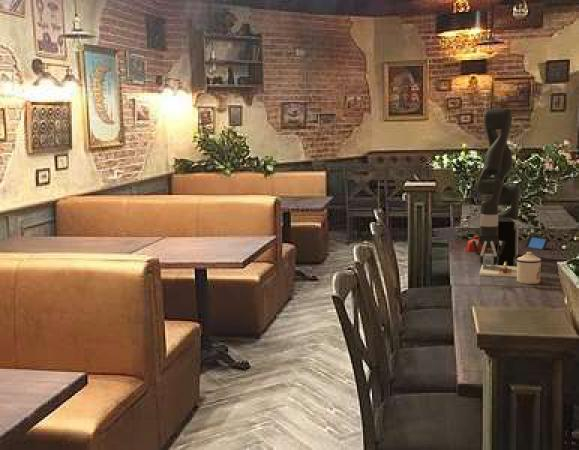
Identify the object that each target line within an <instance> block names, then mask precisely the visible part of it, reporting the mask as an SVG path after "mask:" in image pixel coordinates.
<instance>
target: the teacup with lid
mask: <svg viewBox="0 0 579 450" xmlns="http://www.w3.org/2000/svg"><path fill="white" fill-rule="evenodd" d="M516 260H517V265H516V266H517V277H516V282H518V283H519V284H524V285H525V284H526V285H536V284H537V285H538V284H540V283H541V270H542V269H541V266H542V259H541V258H540V257H537V256H536V255H534V254H533V252H531V251H526V253H525V254H524V255H522V256H517V259H516Z"/></svg>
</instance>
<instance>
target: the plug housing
mask: <svg viewBox="0 0 579 450" xmlns="http://www.w3.org/2000/svg"><path fill="white" fill-rule="evenodd" d="M487 261H490V265H491V270H493V268H494V254H492V253H484V254H483V269H485V268H486V265H487Z"/></svg>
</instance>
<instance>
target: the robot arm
mask: <svg viewBox="0 0 579 450" xmlns="http://www.w3.org/2000/svg"><path fill="white" fill-rule="evenodd" d="M512 114H513V113H512V111H511V109H510V108H506V107H504V108H488V109H486V110H485V111H484V117H483V120H484V127H485V131H486V136H487V140H488V146H489V147H488V150H487V151H486V153H485V156H484V163H483V167H482V168H483V169H482V170H481V173H480V175H479V177H478V179H477V182H476V191H477V193H479V194H480V195H492V196H491V198H490V199H485V200H482V201H481V202H480V218H479V238H478V239H479V240H474V241H473V242H472V243H473V246H474V249H475V252H474V253H475V255H478V256H479V257H480V259H479V262H480V264H481V266H482V265H483V256H484V254H485V252H484V251H485V249H491V250H492V252H493V253H494V265H497V256H499V255H501V254H502V251H503V248H504V245H505V241H501V240H499V238H498V217H510V218H512V219H513V220H515V223H518V224H519V211H520V210H519V207H520V196H521V195H520V194H521V193H520V191H521V190H520V188H519V186H518V185H515V184H514V185H512V184H511V185H510V184H509V185H507V184H506V185H505V184H504V183H503V181H504V179H505V178H506V176H507V174H508V173H509V172H510V170H511V169H512V167H513V155H512V150H511V149H510V147H509V145H508V144H507V140H508V138H509V134H510V129H511V127H512V121H513V115H512ZM497 130H498V131H499V130H500V131H499V132H500V133H499V134H498V132H497ZM492 176H493V177H492ZM500 205H501V206H502V205H503V206H505V205H506V206H510V208H509V209H507V210H504V211H501V212H499V206H500ZM478 242H480V244H481V245H482V250H481V252H479V250H478V247H477V245H478ZM498 243H500V246H501V248H500V250H499V252H496V248H495V246H496V245H497V244H498ZM518 253H519V227H518V228H517V257H519V255H518Z"/></svg>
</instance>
